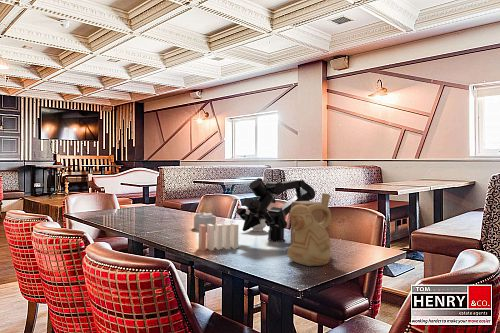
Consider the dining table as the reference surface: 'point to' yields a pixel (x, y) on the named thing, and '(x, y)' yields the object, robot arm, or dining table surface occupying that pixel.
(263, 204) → the robot arm
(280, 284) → the dining table surface
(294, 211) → the ceramic vessel
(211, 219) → the lumpy-topped squat cylinder
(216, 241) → the domino
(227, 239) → the beige jagged slab
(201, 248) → the domino
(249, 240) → the dining table surface
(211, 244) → the domino
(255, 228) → the teacup
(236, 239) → the domino
